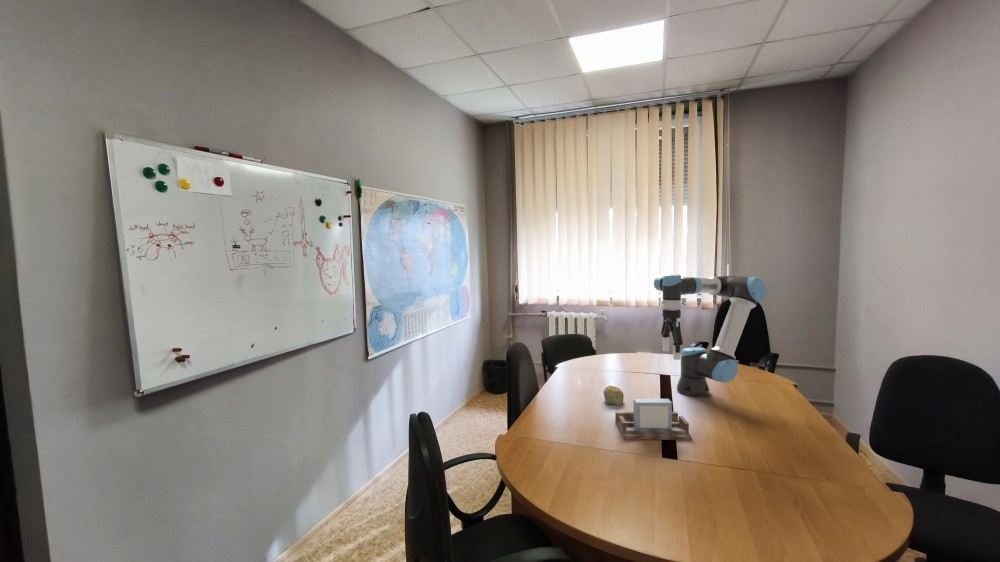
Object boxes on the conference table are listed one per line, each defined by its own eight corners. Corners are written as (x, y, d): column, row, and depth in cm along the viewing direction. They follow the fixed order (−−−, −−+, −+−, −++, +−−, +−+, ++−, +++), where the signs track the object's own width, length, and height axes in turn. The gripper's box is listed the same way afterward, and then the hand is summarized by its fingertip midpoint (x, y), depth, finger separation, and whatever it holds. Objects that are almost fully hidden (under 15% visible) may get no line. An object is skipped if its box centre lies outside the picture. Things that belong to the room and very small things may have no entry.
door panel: (668, 426, 161) (668, 398, 160) (671, 431, 157) (672, 402, 156) (633, 426, 162) (633, 398, 161) (636, 431, 158) (636, 402, 157)
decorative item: (623, 408, 193) (620, 388, 198) (626, 403, 184) (623, 382, 190) (603, 408, 193) (601, 388, 199) (606, 403, 185) (603, 382, 190)
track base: (676, 421, 168) (676, 409, 168) (691, 440, 152) (691, 426, 152) (615, 421, 170) (615, 409, 170) (624, 439, 155) (624, 426, 154)
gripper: (654, 304, 187) (653, 347, 189) (673, 313, 162) (672, 363, 164) (670, 304, 186) (669, 347, 188) (691, 313, 161) (690, 363, 163)
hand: (671, 355), depth 176 cm, fingers open, 13 cm apart
